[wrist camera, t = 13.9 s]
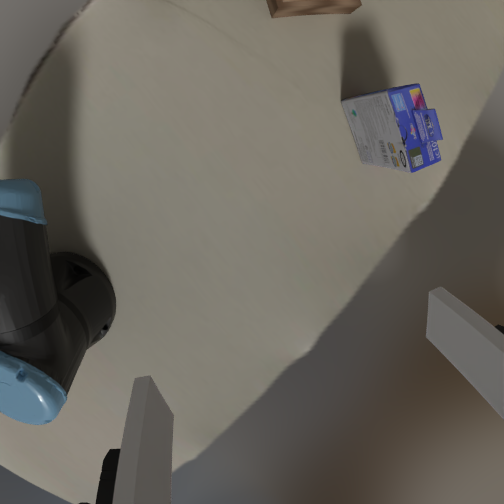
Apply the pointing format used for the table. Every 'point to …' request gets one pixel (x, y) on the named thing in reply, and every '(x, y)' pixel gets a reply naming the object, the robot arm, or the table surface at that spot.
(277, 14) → the plinth
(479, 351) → the robot arm
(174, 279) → the table surface
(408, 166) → the ink cartridge box
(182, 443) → the table surface
